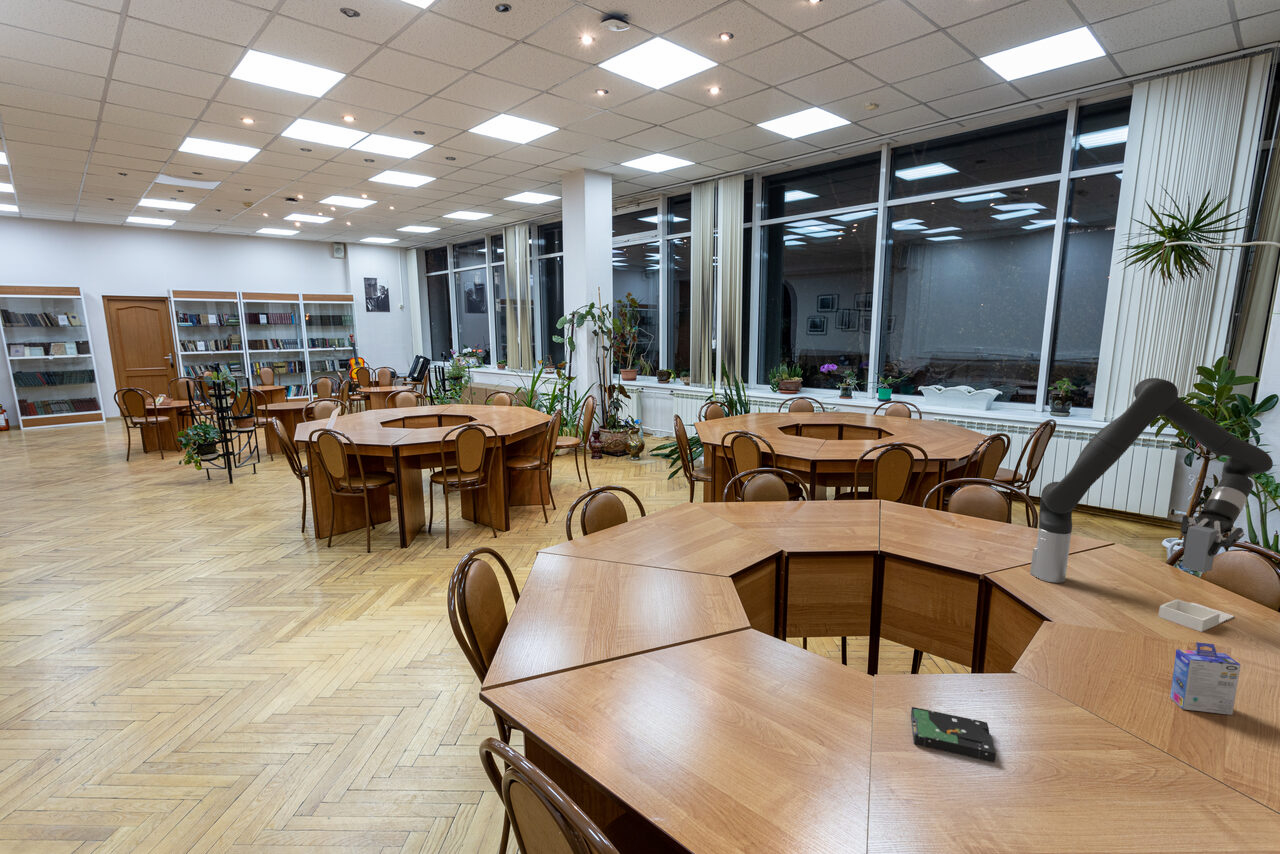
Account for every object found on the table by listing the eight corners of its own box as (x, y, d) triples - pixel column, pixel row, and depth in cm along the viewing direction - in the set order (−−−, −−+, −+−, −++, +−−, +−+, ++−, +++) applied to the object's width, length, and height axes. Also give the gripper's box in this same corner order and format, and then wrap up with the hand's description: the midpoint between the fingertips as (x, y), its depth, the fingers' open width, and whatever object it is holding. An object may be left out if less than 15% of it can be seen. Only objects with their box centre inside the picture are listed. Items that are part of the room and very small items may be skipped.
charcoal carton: (1181, 566, 177) (1188, 527, 175) (1190, 563, 180) (1196, 524, 178) (1203, 572, 173) (1210, 532, 171) (1211, 569, 175) (1218, 530, 173)
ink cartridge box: (1216, 701, 140) (1226, 643, 137) (1234, 716, 135) (1245, 655, 132) (1167, 695, 142) (1176, 638, 139) (1182, 710, 136) (1193, 650, 134)
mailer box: (1158, 616, 181) (1160, 605, 181) (1191, 603, 190) (1193, 592, 190) (1201, 631, 172) (1203, 620, 172) (1234, 617, 181) (1236, 606, 181)
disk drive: (985, 733, 129) (909, 716, 134) (987, 721, 128) (910, 705, 133) (995, 765, 119) (913, 746, 124) (997, 753, 119) (914, 734, 124)
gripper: (1190, 492, 183) (1164, 536, 180) (1254, 504, 170) (1227, 552, 167) (1196, 507, 186) (1170, 550, 183) (1259, 520, 174) (1232, 567, 170)
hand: (1197, 551), depth 175 cm, fingers closed on charcoal carton, 5 cm apart
